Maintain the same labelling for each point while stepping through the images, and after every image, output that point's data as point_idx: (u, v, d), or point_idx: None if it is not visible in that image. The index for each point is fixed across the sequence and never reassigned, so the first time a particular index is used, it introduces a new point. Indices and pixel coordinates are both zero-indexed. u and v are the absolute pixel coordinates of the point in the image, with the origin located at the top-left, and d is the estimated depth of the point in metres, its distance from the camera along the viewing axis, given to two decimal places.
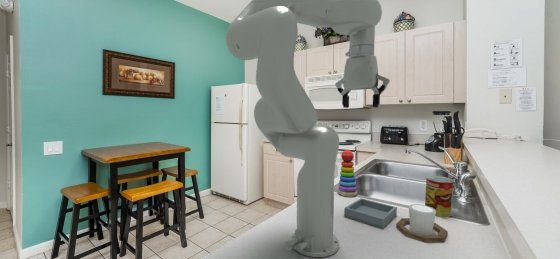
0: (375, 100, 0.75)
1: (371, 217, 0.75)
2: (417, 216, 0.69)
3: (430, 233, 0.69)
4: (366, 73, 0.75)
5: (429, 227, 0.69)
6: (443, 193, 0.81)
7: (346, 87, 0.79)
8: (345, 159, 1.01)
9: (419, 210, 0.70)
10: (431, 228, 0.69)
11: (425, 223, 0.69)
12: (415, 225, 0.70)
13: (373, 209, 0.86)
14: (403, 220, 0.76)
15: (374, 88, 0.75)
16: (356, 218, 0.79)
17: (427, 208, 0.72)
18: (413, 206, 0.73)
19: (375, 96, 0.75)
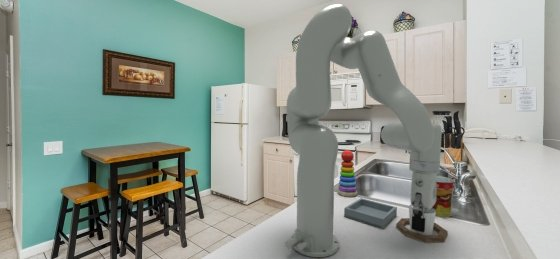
0: None
1: (371, 217, 0.75)
2: None
3: (430, 233, 0.69)
4: (436, 188, 0.71)
5: (429, 226, 0.69)
6: (443, 193, 0.81)
7: (430, 208, 0.67)
8: (345, 159, 1.01)
9: None
10: (431, 228, 0.69)
11: (425, 223, 0.69)
12: None
13: (373, 209, 0.86)
14: (403, 220, 0.76)
15: None
16: (356, 218, 0.79)
17: None
18: None
19: None
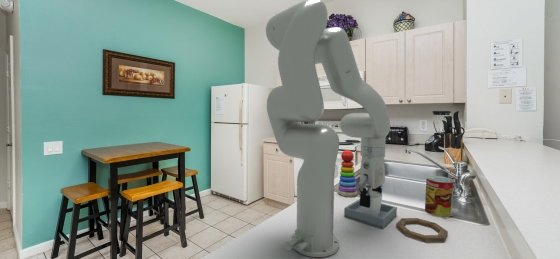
0: None
1: (371, 217, 0.75)
2: None
3: (376, 215, 0.79)
4: (383, 171, 0.81)
5: (375, 209, 0.79)
6: (443, 193, 0.81)
7: (375, 187, 0.77)
8: (345, 159, 1.01)
9: None
10: (377, 210, 0.79)
11: (371, 206, 0.79)
12: (364, 208, 0.80)
13: None
14: (403, 220, 0.76)
15: None
16: (356, 218, 0.79)
17: (376, 193, 0.82)
18: None
19: None
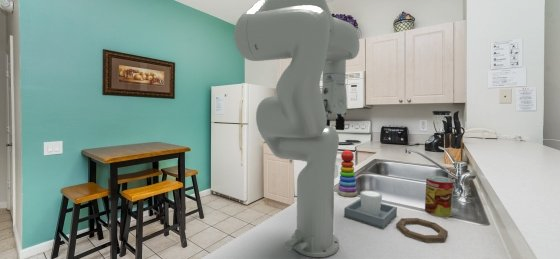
0: None
1: (371, 217, 0.75)
2: (365, 200, 0.80)
3: (376, 215, 0.80)
4: (344, 100, 0.84)
5: (375, 209, 0.79)
6: (443, 193, 0.81)
7: (334, 112, 0.79)
8: (345, 159, 1.01)
9: (367, 195, 0.80)
10: (377, 210, 0.79)
11: (371, 206, 0.79)
12: (364, 208, 0.81)
13: None
14: (403, 220, 0.76)
15: (343, 113, 0.86)
16: (356, 218, 0.79)
17: (376, 193, 0.82)
18: (364, 192, 0.83)
19: None
